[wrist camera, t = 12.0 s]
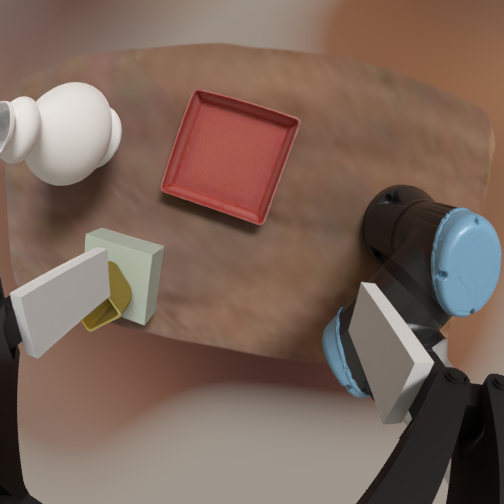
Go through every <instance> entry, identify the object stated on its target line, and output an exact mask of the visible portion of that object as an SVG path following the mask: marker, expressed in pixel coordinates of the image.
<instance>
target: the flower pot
mask: <svg viewBox="0 0 504 504" xmlns="http://www.w3.org/2000/svg"><path fill="white" fill-rule="evenodd" d="M108 271H109V285H110V297H108V298H107V299H106V300H105V301H103V302H102V303H101V304H100V305H99V306H97V307H96V308H95V309H94V310H93V311H92V312H90V313H89V314H88V315H87V316H86V317H84V318H83V319H82V320H81V322H82V323H83V324H84V326H85V328H86V329H87V330H88V331H89V332H92V331H94V330H96V329H98V328H99V327H101V326H104V325H106V324H108V323H110V322H112V321H114V320H116V319H118V318H120V317H121V316H122V314H123V313H124V311H125V309H126V308H127V306H128V305H129V303H130V301H131V298H132V291H131V287H130V285H129V283H128V282H127V280H126V279H125V277H124V275H123V274H122V272H121V270H120V269H119V267H118V265H117V264H115V263H114V262H112V261H108Z"/></svg>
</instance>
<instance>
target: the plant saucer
mask: <svg viewBox="0 0 504 504" xmlns="http://www.w3.org/2000/svg"><path fill="white" fill-rule="evenodd" d="M300 124H301V123H300V119H298V118H296V117H294V116H291V115H288V114H285V113H282V112H279V111H276V110H273V109H270V108H267V107H264V106H261V105H257V104H254V103H251V102H247V101H244V100H241V99H237V98H233V97H230V96H225V95H222V94H218V93H214V92H210V91H206V90H202V89H196V90H194V91H193V93H192V95H191V98H190V100H189V103H188V105H187V108H186V111H185V114H184V116H183V119H182V121H181V125H180V128H179V130H178V133H177V136H176V139H175V142H174V145H173V148H172V151H171V154H170V157H169V160H168V163H167V167H166V170H165V173H164V177H163V180H162V183H161V190H162V192H164V193H167V194H170V195H173V196H176V197H179V198H182V199H185V200H188V201H190V202H193V203H196V204H199V205H202V206H205V207H208V208H211V209H214V210H217V211H219V212H223V213H226V214H228V215H231V216H234V217H237V218H240V219H243V220H245V221H248V222H251V223H254V224H256V225H262V224H264V223H265V220H266V218H267V215H268V212H269V209H270V206H271V204H272V201H273V198H274V196H275V193H276V190H277V187H278V185H279V182H280V179H281V176H282V174H283V171H284V168H285V166H286V163H287V160H288V157H289V154H290V152H291V149H292V146H293V143H294V141H295V138H296V136H297V133H298V130H299V127H300Z"/></svg>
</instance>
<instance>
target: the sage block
mask: <svg viewBox="0 0 504 504" xmlns="http://www.w3.org/2000/svg"><path fill="white" fill-rule="evenodd" d="M96 247H98V248H105V249H107V251H108V261H112V262H114V263H115V264H117V265H118V267H119V269H120V270H121V272H122V274H123V275H124V277H125V279H126V280H127V282H128V283H129V285H130V287H131V291H132V298H131V301H130V303H129V305H128V306H127V308H126V309H125V311H124V313H123V314H122V316H121V317H123V318H126V319H128V320H131V321H134V322H136V323H139V324H142V325H145V324H146V323H147V322H148V320H149V319H150V318H151V317H152V316H153V314H154V313H155V311H156V302H157V294H158V287H159V280H160V273H161V266H162V259H163V253H164V247H165V246H162V245H158V244H155V243H152V242H148V241H145V240H141V239H138V238H134V237H131V236H128V235H124V234H121V233H118V232H114V231H111V230H108V229H104V228H100V229H97V230H95V231H92V232H90V233H87V234H86V240H85V253H86V252H88V251H90V250H92V249H94V248H96Z"/></svg>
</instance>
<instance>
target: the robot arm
mask: <svg viewBox="0 0 504 504" xmlns="http://www.w3.org/2000/svg"><path fill="white" fill-rule="evenodd" d="M363 236H364V241H365V244H366V247H367V249H368V251H369V253H370V254H371V256H372V257H373V258H374V259H375V260H376V261H377V262H378V263H379V264H381V265H382V266H381V267H380V269H379V270H378V271H377V272H376V273H375V274H374V275H373V276H372V277H371V278H370V280H369V281H368V282H367V283H365V282H361V285H360V289H359V291H358V292H357V293H356V294H355V296H354V297H353V298H352V299H351V300H350V301H349V302H348V303H347V304H346V305H345V306H342V307H341V308H340V309H339V311H338V313H337V315H336V316H335V317H334V318H333V319H332V320H331V321H330V323H329V324H328V325H327V326H326V327H325V329H324V331H323V338H322V347H323V351H324V355H325V358H326V360H327V363H328V365H329V367H330V369H331V371H332V372H333V374H334V375H335V377H336V379H337V380H338V381H339V382H340V384H341V385H342V386H345V387H346V389H347V391H348V392H349V393H351V394H352V395H354V396H355V397H358V398H365V397H370V396H371V398H372V399H373V400H374V402H375V403H376V405H377V408H378V411H379V414H380V417H381V419H382V423H383V424H394V423H402V421H403V420H404V422H405V423H406V424H407V427H406V429H405V430H404V432H403V433H402V435H401V436H400V438H399V439H400V440H399V442H398V444H397V445H396V447H395V449H394V450H393V452H392V454H391V455H390V457H389V458H388V460H387V461H386V463H385V464H384V466H383V468H382V469H381V470H380V472H379V474H378V475H377V476H376V478H375V479H374V481H373V482H372V483H371V485H370V486H369V488H368V489H367V490H366V492H365V493H364V494H363V496H362V497H361V498H360V499H359V501H358V502H357V503H356V504H432V503H433V500H434V498H435V496H436V494H437V492H438V489H439V487H440V485H441V482H442V480H443V478H444V479H445V480H446V482H447V483H448V485H449V487H448V495H447V501H446V504H504V376H503V375H499V374H490V375H488V376H487V378H486V379H485V381H484V383H483V385H480V384H473V383H470V380H469V378H468V377H467V375H466V374H465V373H463V372H462V371H460V370H458V369H456V368H454V367H453V366H452V365H451V364H450V363H449V361H448V359H447V349H448V340H447V339H446V338H445V337H444V336H443V335H442V334H441V332H440V329H441V328H442V327H443V326H444V325H445V324H446V322H447V321H448V320H449V319H450V318H451V317H452V316H456V317H466V316H468V315H469V313H472V314H473V313H476V312H477V311H478V310H480V308H482V307H483V306H484V305H485V304H486V302H487V301H488V300H489V298H490V297H491V295H492V293H493V291H494V289H495V287H496V284H497V281H498V278H499V274H500V269H501V266H500V260H501V247H500V242H499V239H498V236H497V234H496V231H495V230H494V228H493V226H492V225H491V224H490V223H489V222H488V221H487V220H486V219H485V218H484V217H482V216H480V215H478V214H476V213H473V212H472V211H469V210H468V209H466V208H458V207H454V206H450V205H446V204H442V203H437V202H435V201H434V200H433V199H432V198H431V197H430V196H429V195H428V194H427V193H426V192H425V191H423V190H421V189H419V188H417V187H414V186H409V185H394V186H391V187H388V188H386V189H384V190H383V191H381V192H380V193H379V194H378V195H377V196H376V197H375V198H374V199H373V200H372V202H371V203H370V205H369V207H368V209H367V211H366V214H365V217H364V222H363ZM385 268H386V269H385ZM411 294H412V295H413V296H414V297H415V298H416V299H415V298H414V297H413V296H412V295H411ZM108 297H110V285H109V271H108V251H107V249H105V248H98V247H96V248H94V249H92V250H90V251H88V252H86V253H84V254H82V255H80V256H78V257H76V258H74V259H72V260H70V261H68V262H66V263H64V264H62V265H60V266H58V267H56V268H54V269H52V270H51V271H49V272H47V273H45V274H43V275H41V276H39V277H38V278H36V279H34V280H32V281H30V282H28V283H27V284H25V285H23V286H21V287H20V288H18V289H17V290H14V291H13V292H11V293H10V296H8V297H6V298H5V297H4V293H3V288H2V283H1V278H0V504H42V503H41V502H39V501H38V500H36V499H35V498H33V497H32V496H30V494H29V493H28V491H27V489H26V487H25V485H24V481H23V476H22V469H21V462H20V453H19V442H18V426H17V384H18V366H19V356H20V351H19V348H18V344H19V343H20V342H23V345H24V348H25V351H26V353H27V354H29V355H31V356H33V357H35V358H37V359H38V358H39V357H40V356H41V355H42V354H44V353H45V352H46V351H47V350H48V349H49V348H50V347H51V346H52V345H54V343H56V342H57V341H58V340H59V339H60V338H61V337H63V336H64V335H65V334H66V333H67V332H68V331H69V330H70V329H72V328H73V327H74V326H75V325H76V324H77V323H79V322H80V321H81V320H82V319H83V318H84V317H86V316H87V315H88V314H89V313H90V312H92V311H93V310H94V309H95V308H96V307H97V306H99V305H100V304H101V303H102V302H103V301H105V300H106V299H107V298H108ZM440 325H441V326H442V327H441V326H440Z"/></svg>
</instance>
